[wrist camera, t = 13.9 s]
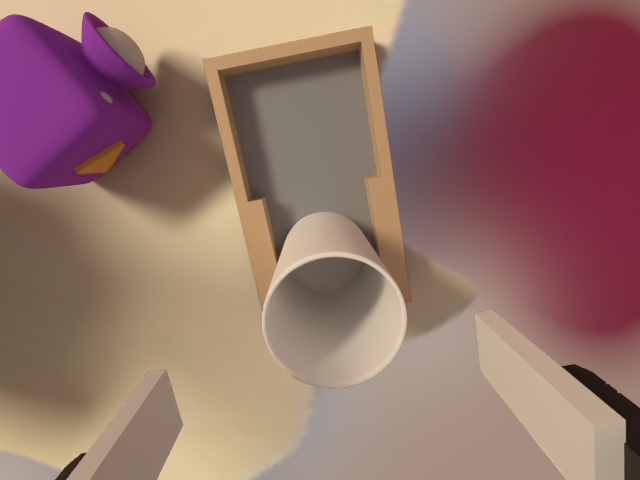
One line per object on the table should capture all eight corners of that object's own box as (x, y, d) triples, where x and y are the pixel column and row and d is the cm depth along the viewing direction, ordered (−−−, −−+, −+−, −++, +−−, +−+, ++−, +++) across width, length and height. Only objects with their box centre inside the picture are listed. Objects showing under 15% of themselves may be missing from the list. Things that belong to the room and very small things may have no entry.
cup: (270, 273, 37) (239, 358, 21) (303, 197, 35) (296, 228, 19) (345, 304, 37) (369, 408, 22) (381, 232, 36) (433, 287, 20)
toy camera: (193, 86, 34) (145, 57, 24) (110, 198, 36) (36, 213, 27) (94, 1, 33) (0, -66, 23) (13, 124, 35) (-104, 111, 25)
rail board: (266, 311, 39) (261, 328, 35) (209, 72, 34) (196, 60, 30) (406, 285, 39) (416, 300, 35) (370, 39, 34) (377, 24, 30)
